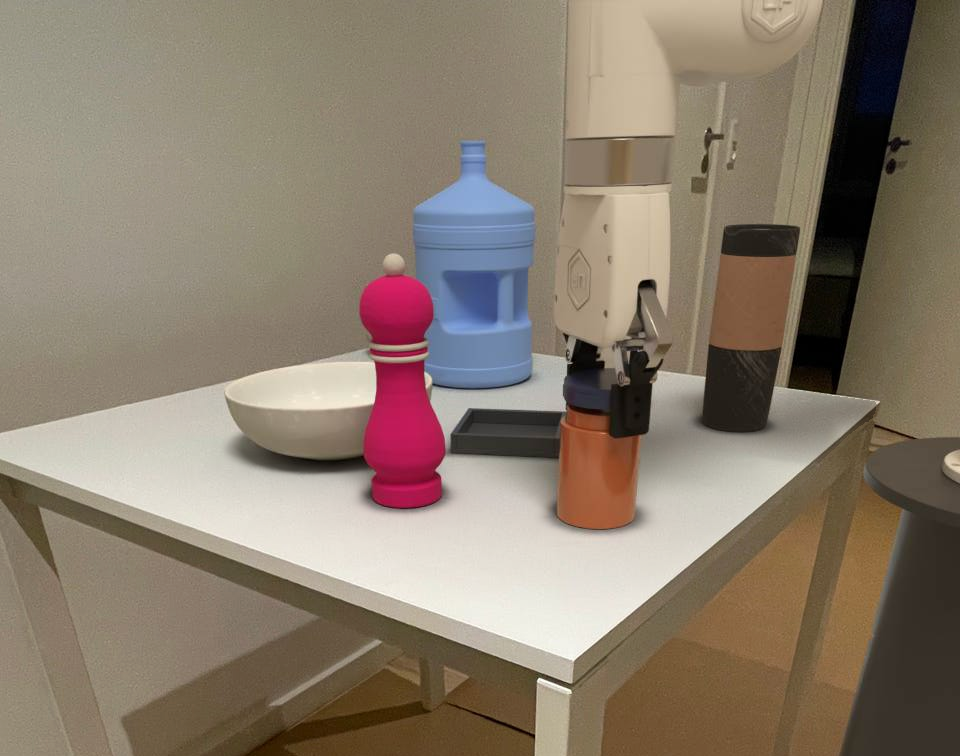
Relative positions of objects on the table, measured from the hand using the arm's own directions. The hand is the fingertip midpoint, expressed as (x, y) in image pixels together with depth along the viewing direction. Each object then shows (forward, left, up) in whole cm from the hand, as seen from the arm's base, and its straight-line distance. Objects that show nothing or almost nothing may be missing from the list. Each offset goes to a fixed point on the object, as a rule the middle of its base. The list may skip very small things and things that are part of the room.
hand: (605, 421), depth 68 cm
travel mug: (-14, -30, -8) cm, 34 cm away
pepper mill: (+17, -2, -8) cm, 19 cm away
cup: (-1, -38, -8) cm, 39 cm away
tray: (+10, -20, -8) cm, 24 cm away
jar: (0, 0, -8) cm, 8 cm away
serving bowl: (+28, -15, -8) cm, 33 cm away
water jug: (+19, -49, -8) cm, 53 cm away
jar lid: (0, 0, +3) cm, 3 cm away
